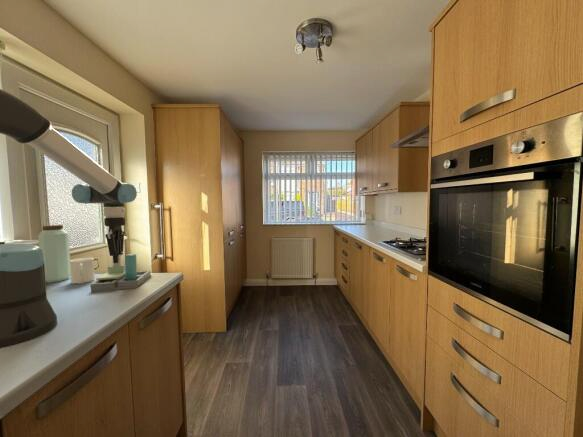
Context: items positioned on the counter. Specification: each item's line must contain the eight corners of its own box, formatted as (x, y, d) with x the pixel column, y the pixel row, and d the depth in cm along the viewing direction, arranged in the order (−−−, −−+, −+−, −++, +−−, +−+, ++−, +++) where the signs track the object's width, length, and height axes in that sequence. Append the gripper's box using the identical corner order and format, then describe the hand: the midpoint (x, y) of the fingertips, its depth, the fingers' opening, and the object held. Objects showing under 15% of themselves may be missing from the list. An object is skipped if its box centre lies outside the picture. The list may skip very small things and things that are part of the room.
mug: (69, 287, 104) (67, 263, 104) (72, 280, 114) (71, 259, 113) (94, 283, 109) (92, 261, 108) (95, 277, 119) (93, 256, 118)
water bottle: (77, 276, 121) (73, 224, 119) (59, 282, 111) (55, 226, 109) (55, 276, 120) (51, 224, 118) (35, 283, 110) (30, 226, 108)
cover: (118, 278, 104) (118, 269, 104) (96, 280, 102) (95, 271, 102) (127, 273, 113) (127, 264, 112) (107, 274, 111) (106, 266, 111)
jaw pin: (134, 284, 105) (133, 255, 104) (123, 284, 104) (123, 256, 103) (138, 281, 109) (137, 253, 108) (128, 281, 108) (127, 254, 107)
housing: (136, 288, 102) (135, 281, 101) (91, 291, 98) (90, 284, 98) (151, 275, 119) (150, 269, 119) (113, 278, 116) (112, 272, 116)
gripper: (117, 217, 105) (120, 272, 107) (130, 216, 118) (132, 265, 119) (97, 217, 104) (100, 274, 105) (112, 216, 116) (114, 266, 118)
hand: (117, 269), depth 112 cm, fingers closed
